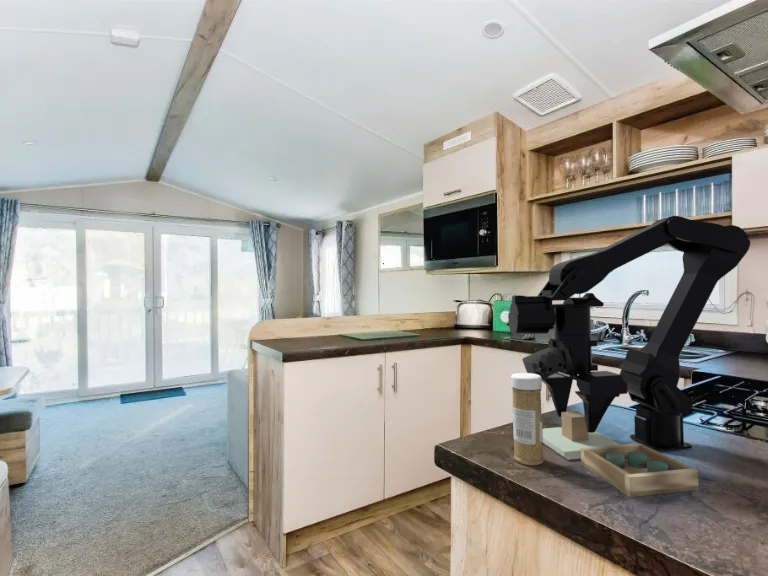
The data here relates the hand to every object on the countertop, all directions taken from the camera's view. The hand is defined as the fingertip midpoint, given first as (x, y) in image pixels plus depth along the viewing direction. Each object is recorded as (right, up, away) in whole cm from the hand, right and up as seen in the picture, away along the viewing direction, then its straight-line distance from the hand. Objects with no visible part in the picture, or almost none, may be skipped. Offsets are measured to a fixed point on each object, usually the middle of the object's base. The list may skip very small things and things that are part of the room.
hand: (575, 424), depth 70 cm
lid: (0, -3, 0) cm, 3 cm away
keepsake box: (+3, -3, -12) cm, 13 cm away
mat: (0, -4, -1) cm, 4 cm away
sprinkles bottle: (-10, -4, -6) cm, 12 cm away
